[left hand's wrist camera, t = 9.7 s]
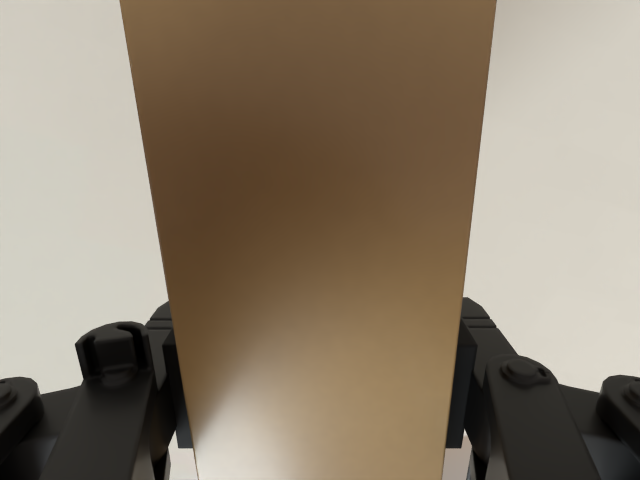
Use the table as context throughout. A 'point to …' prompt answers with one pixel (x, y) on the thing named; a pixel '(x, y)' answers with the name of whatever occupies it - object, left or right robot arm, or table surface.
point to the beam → (313, 222)
